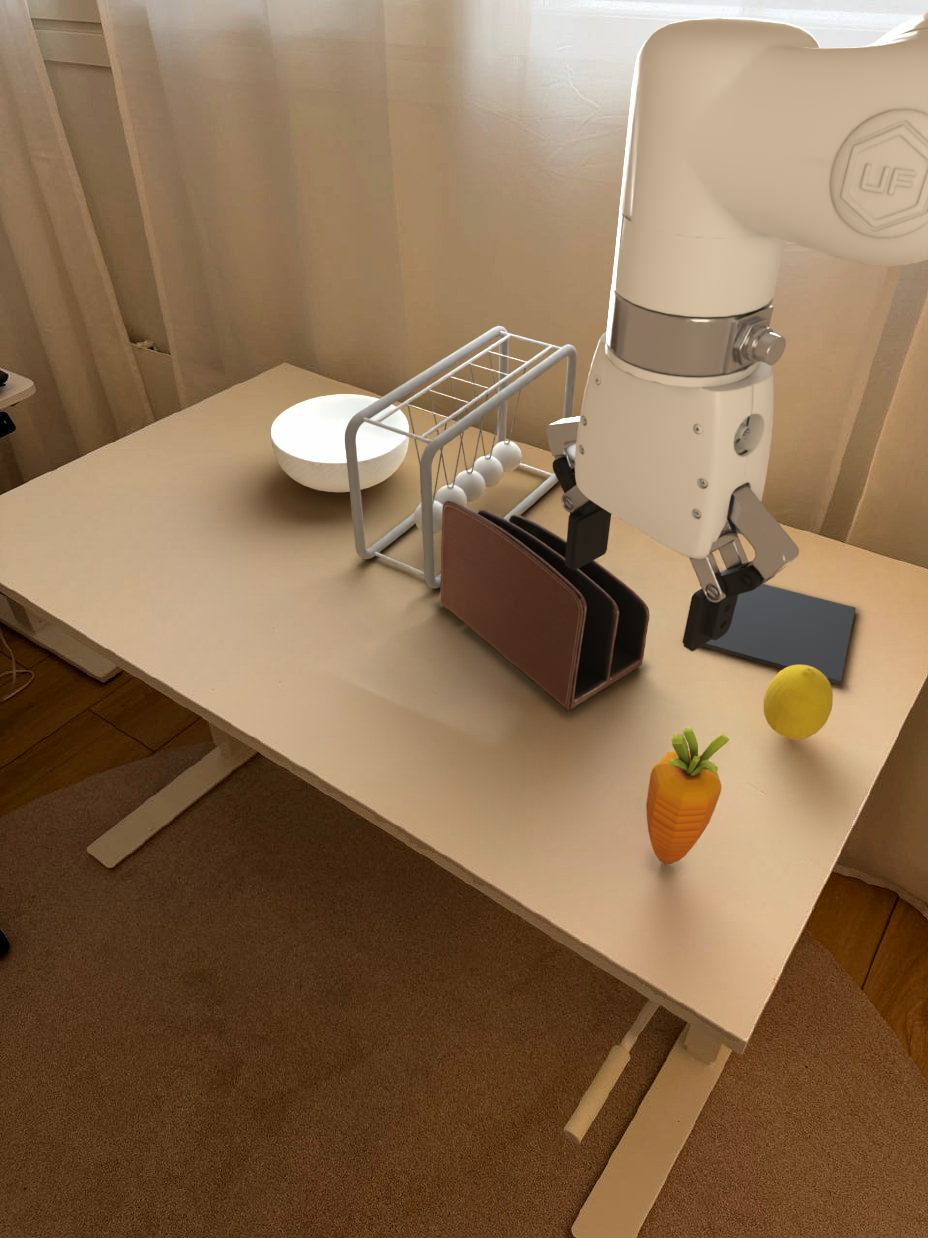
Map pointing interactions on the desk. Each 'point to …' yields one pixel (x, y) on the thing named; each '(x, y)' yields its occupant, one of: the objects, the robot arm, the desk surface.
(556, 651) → the letter holder
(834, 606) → the mat
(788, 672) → the lemon
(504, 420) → the newton's cradle
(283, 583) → the desk surface
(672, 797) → the carrot
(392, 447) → the cereal bowl
